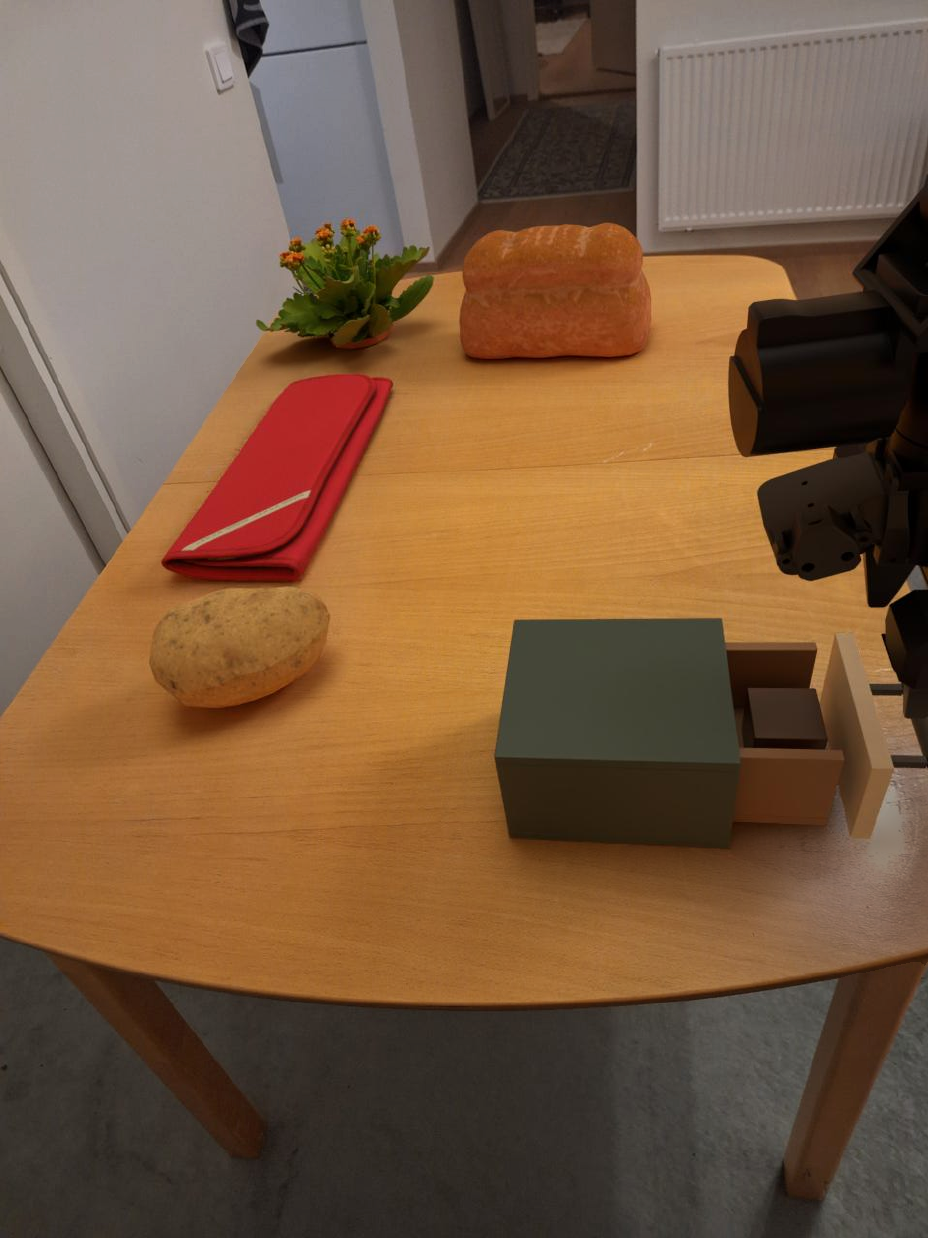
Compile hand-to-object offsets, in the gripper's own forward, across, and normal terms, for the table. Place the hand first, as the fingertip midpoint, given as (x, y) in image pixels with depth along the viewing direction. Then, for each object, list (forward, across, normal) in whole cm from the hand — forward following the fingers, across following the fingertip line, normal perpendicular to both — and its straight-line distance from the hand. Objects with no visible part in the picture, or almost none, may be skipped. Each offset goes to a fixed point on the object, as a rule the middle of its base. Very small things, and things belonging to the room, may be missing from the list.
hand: (893, 657), depth 48 cm
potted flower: (+11, -82, -56) cm, 100 cm away
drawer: (+11, 0, -5) cm, 12 cm away
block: (+10, 0, -6) cm, 11 cm away
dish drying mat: (+11, -42, -55) cm, 70 cm away
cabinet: (+11, 0, -16) cm, 20 cm away
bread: (+12, -74, -26) cm, 79 cm away
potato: (+11, -8, -48) cm, 50 cm away
